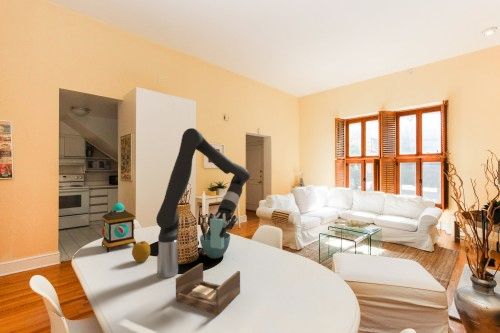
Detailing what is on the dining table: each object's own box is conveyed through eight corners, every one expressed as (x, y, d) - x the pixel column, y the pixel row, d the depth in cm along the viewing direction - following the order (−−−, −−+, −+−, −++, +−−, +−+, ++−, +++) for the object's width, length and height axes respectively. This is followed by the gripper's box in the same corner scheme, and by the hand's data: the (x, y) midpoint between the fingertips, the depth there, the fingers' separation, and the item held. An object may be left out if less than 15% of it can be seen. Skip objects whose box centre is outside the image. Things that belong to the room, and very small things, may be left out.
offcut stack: (190, 302, 91) (190, 290, 91) (199, 295, 96) (199, 284, 96) (209, 308, 87) (208, 296, 87) (217, 300, 92) (217, 289, 92)
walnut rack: (175, 305, 92) (175, 278, 92) (201, 286, 106) (201, 263, 106) (218, 319, 83) (218, 289, 83) (240, 296, 97) (240, 271, 97)
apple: (137, 266, 128) (136, 245, 128) (128, 262, 134) (128, 241, 134) (153, 260, 136) (153, 240, 136) (145, 257, 142) (144, 237, 142)
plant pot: (217, 264, 130) (217, 242, 130) (193, 258, 139) (193, 237, 140) (236, 254, 145) (236, 234, 145) (213, 248, 155) (213, 230, 155)
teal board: (210, 247, 100) (210, 219, 100) (213, 245, 102) (213, 218, 102) (221, 248, 98) (220, 220, 98) (224, 247, 100) (223, 219, 100)
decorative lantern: (130, 240, 176) (129, 200, 176) (138, 246, 161) (138, 202, 161) (99, 246, 162) (98, 203, 162) (105, 253, 148) (104, 206, 148)
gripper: (213, 197, 110) (197, 229, 99) (239, 199, 104) (225, 233, 93) (219, 207, 115) (204, 238, 104) (245, 209, 108) (232, 242, 98)
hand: (214, 236), depth 99 cm, fingers closed on teal board, 5 cm apart
